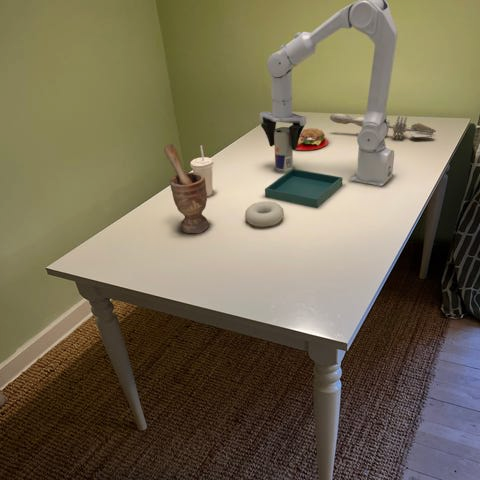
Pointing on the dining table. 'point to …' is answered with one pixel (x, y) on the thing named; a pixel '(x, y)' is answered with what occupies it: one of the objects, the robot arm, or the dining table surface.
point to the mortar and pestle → (188, 194)
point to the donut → (264, 214)
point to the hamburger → (311, 139)
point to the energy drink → (283, 150)
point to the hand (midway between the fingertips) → (283, 147)
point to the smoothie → (204, 170)
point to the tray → (304, 187)
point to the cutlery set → (399, 128)
